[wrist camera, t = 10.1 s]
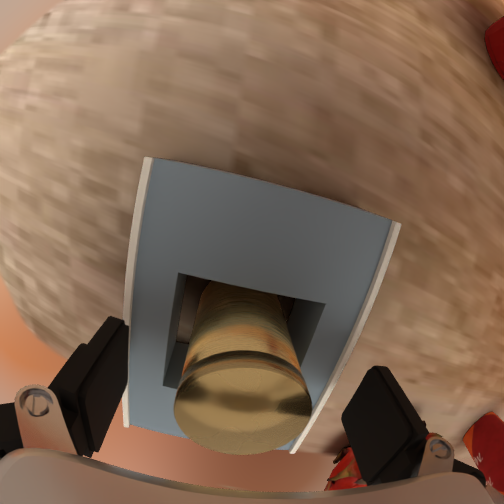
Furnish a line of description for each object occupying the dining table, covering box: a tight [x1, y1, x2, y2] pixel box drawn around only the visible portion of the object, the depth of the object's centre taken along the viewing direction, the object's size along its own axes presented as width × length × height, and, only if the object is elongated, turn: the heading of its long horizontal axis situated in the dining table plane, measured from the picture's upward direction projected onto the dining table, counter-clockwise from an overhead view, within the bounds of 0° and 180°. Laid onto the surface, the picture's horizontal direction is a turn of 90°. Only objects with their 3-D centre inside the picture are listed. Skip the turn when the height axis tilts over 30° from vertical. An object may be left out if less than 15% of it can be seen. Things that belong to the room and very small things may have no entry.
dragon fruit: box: [324, 420, 443, 491], centre depth 17 cm, size 8×8×12 cm
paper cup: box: [463, 412, 504, 495], centre depth 16 cm, size 8×8×14 cm
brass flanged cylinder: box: [173, 280, 312, 455], centre depth 12 cm, size 4×4×8 cm
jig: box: [122, 156, 402, 454], centre depth 14 cm, size 14×10×4 cm
